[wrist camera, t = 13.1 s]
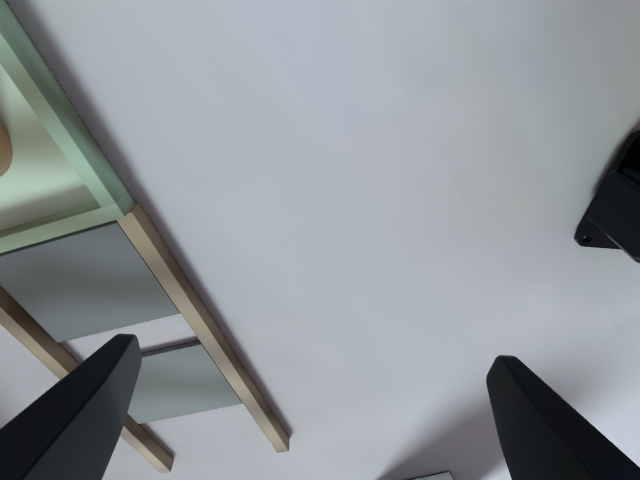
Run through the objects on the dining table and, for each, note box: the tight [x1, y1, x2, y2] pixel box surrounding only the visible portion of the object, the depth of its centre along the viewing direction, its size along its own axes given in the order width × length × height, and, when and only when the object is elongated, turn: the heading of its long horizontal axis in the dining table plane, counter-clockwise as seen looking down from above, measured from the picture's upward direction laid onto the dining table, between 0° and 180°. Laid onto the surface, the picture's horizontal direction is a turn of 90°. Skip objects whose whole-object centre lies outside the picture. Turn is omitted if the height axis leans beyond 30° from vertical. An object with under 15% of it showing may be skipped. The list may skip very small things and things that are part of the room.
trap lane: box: [0, 0, 289, 473], centre depth 25 cm, size 36×12×1 cm, turn 17°
